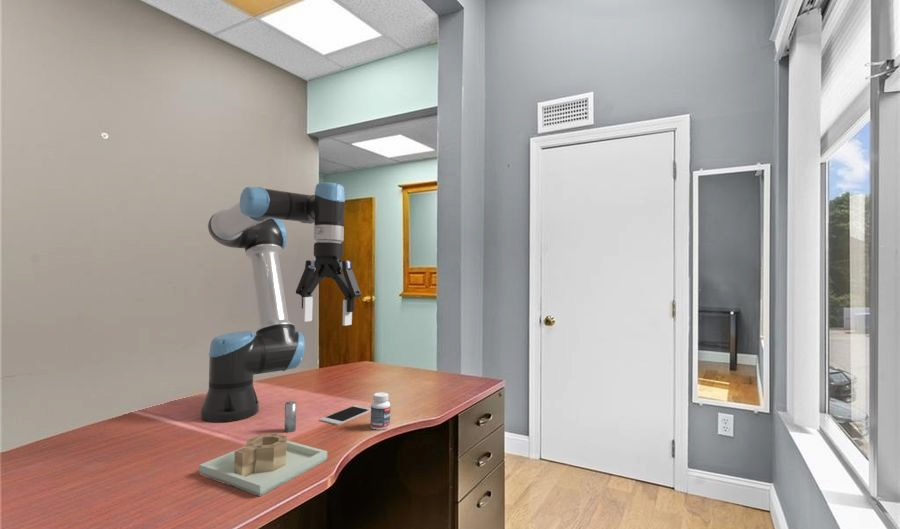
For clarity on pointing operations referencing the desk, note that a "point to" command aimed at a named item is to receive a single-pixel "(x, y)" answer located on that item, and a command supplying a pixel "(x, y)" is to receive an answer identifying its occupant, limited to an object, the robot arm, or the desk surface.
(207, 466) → the tray
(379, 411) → the pill bottle
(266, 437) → the tan notched block
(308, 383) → the desk surface
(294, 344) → the robot arm
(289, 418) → the grey metal cylinder
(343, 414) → the smartphone
